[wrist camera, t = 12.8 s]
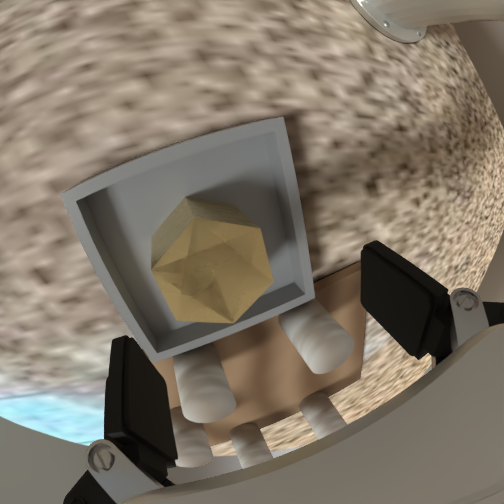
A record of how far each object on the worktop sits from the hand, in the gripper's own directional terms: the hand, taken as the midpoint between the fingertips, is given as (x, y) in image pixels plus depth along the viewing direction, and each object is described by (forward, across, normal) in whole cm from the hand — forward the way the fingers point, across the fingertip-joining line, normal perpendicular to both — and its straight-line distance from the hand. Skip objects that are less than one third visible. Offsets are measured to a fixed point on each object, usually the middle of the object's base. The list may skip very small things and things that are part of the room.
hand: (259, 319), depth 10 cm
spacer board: (+10, 0, +19) cm, 22 cm away
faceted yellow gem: (+10, +1, +1) cm, 10 cm away
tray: (+11, +1, +1) cm, 11 cm away
